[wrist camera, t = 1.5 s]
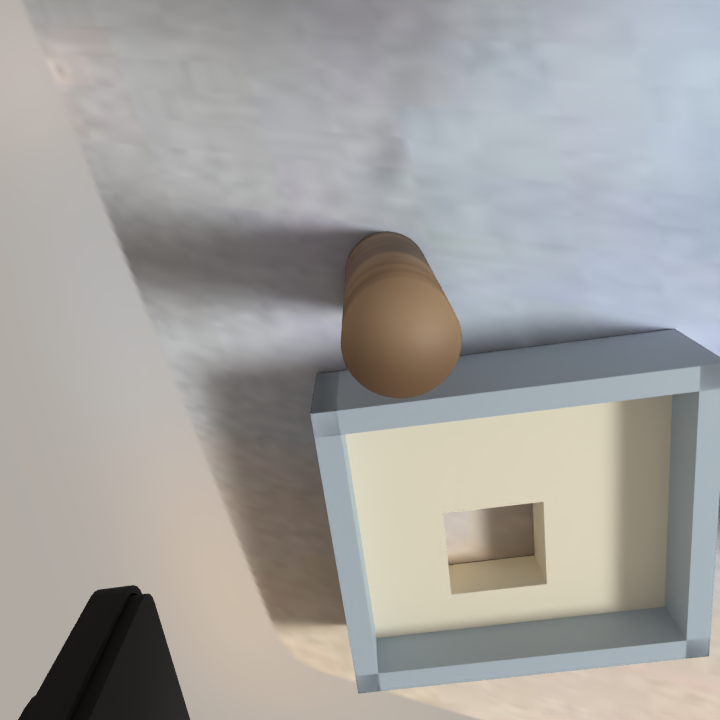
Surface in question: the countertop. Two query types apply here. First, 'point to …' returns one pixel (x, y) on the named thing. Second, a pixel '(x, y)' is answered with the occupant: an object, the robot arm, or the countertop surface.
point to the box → (550, 510)
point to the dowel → (396, 319)
